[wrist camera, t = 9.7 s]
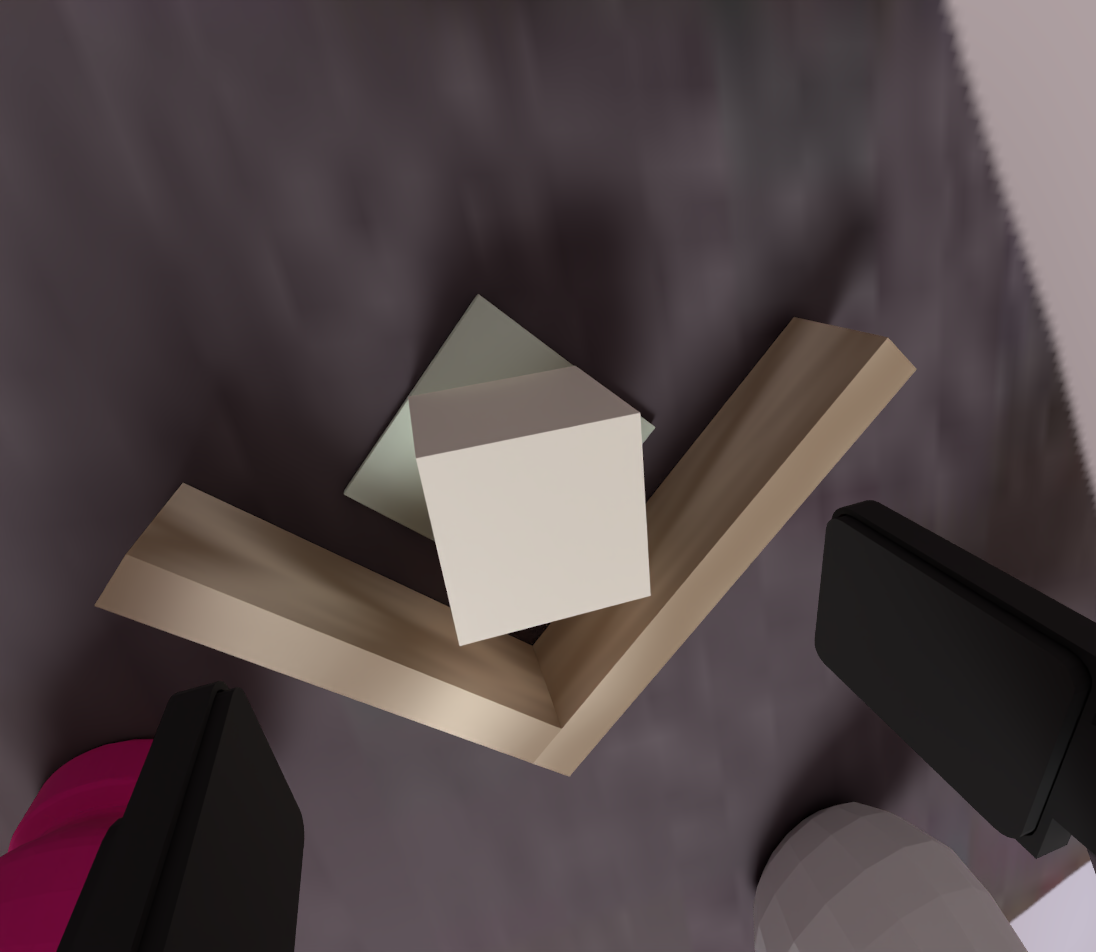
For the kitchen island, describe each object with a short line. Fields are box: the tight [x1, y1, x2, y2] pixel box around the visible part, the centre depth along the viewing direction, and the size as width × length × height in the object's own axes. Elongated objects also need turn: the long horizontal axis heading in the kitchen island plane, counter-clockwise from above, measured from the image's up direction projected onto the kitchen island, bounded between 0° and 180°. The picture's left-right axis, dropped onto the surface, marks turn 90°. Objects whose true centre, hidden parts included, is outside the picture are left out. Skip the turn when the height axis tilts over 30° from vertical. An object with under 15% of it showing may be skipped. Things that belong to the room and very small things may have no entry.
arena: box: [94, 294, 916, 776], centre depth 16 cm, size 14×16×4 cm
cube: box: [408, 366, 651, 646], centre depth 16 cm, size 5×5×5 cm
